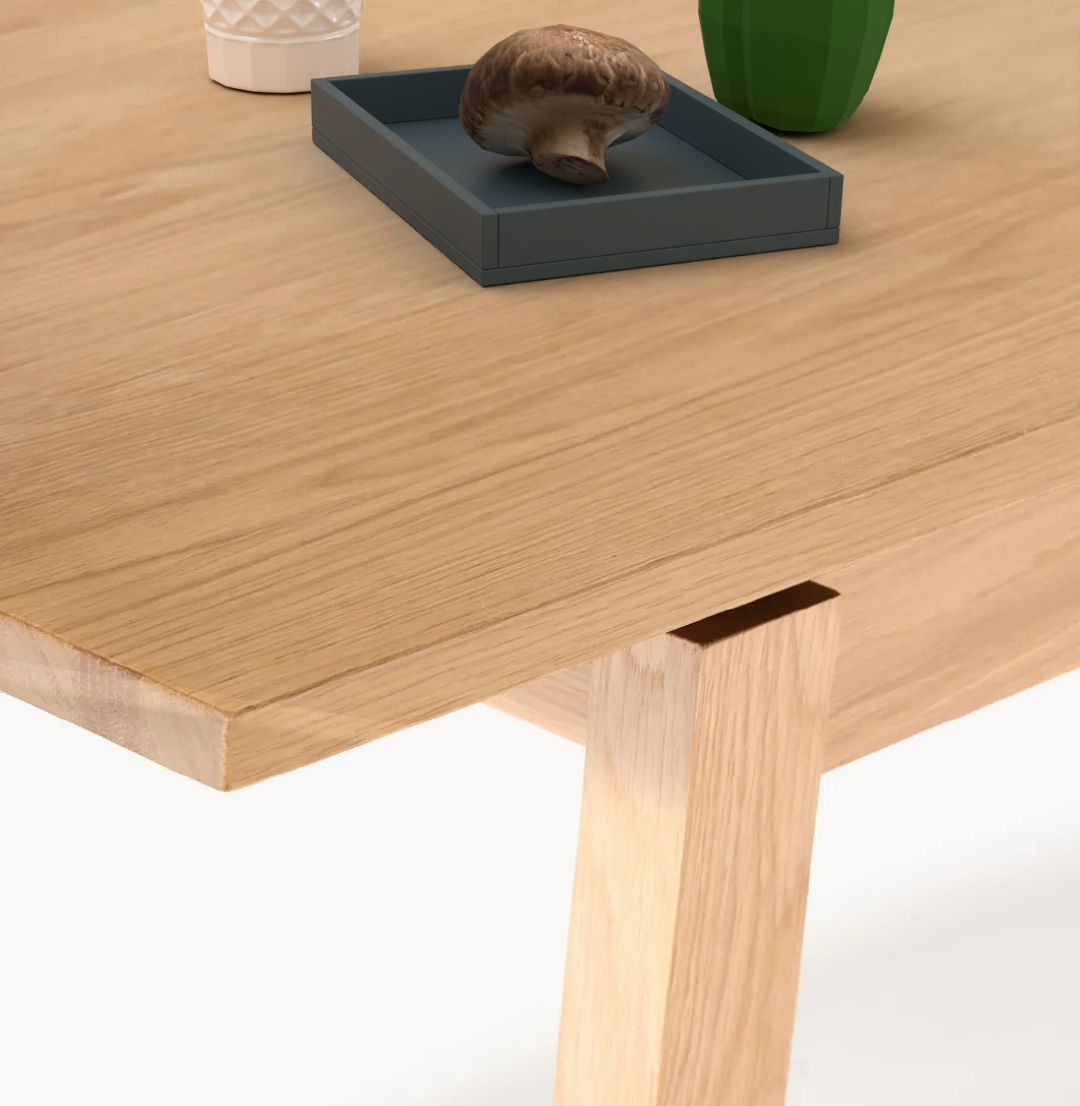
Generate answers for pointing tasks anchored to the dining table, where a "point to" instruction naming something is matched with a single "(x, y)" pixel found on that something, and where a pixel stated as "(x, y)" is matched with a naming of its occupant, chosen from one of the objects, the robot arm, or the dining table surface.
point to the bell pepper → (793, 57)
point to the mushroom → (562, 99)
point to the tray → (566, 208)
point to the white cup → (280, 42)
